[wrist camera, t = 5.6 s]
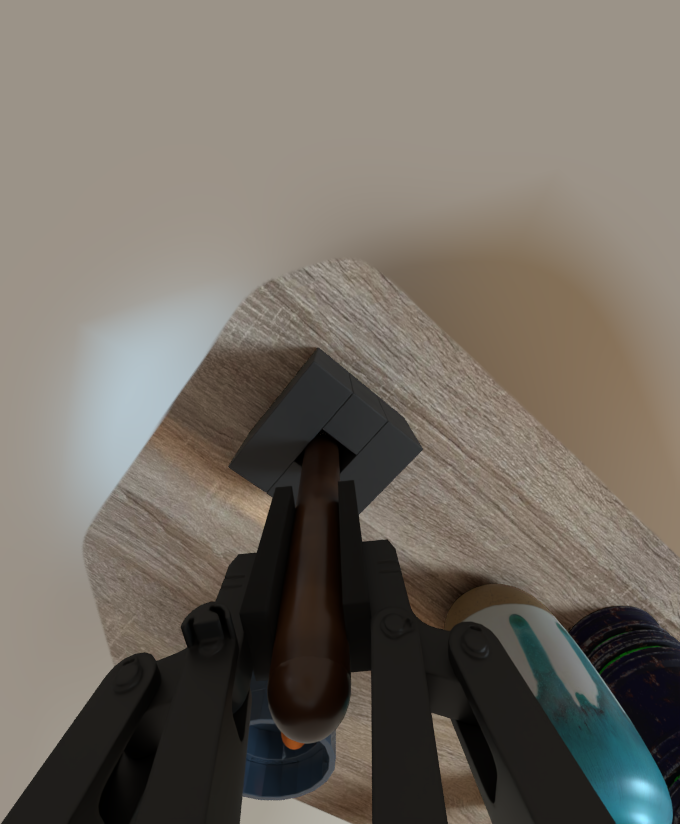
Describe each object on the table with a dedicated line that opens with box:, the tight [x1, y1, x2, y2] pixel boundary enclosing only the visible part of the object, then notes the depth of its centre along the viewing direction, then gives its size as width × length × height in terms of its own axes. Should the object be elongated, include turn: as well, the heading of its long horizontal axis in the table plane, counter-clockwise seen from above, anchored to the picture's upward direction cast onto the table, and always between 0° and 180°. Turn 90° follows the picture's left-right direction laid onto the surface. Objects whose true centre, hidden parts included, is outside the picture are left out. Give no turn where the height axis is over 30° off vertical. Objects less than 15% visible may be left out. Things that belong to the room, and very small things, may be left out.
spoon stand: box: [228, 348, 423, 514], centre depth 24 cm, size 9×9×6 cm
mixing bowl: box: [242, 671, 336, 800], centre depth 34 cm, size 12×12×6 cm
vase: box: [444, 584, 673, 824], centre depth 24 cm, size 11×11×19 cm
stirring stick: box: [267, 434, 351, 744], centre depth 15 cm, size 2×2×16 cm
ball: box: [281, 732, 305, 750], centre depth 35 cm, size 3×3×3 cm
